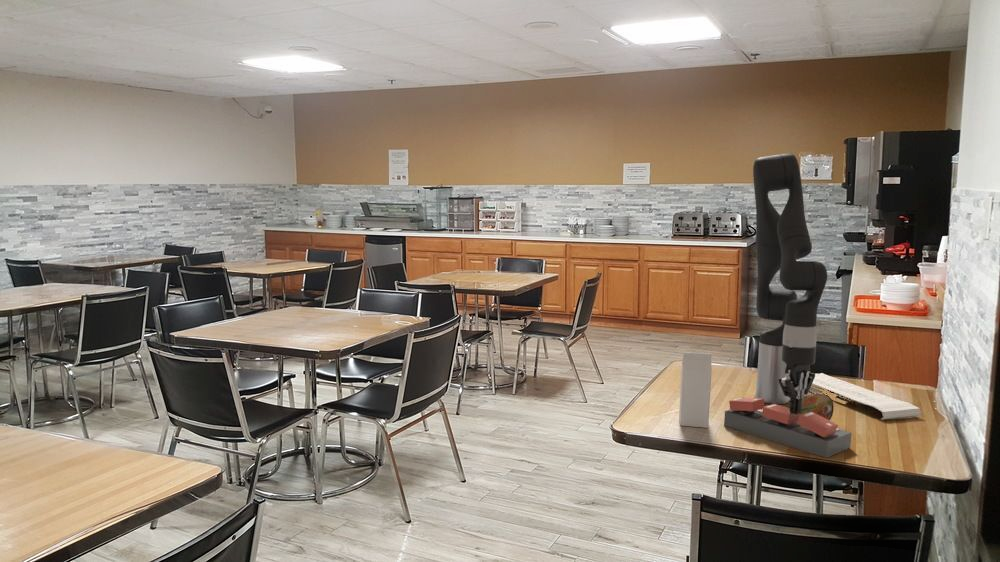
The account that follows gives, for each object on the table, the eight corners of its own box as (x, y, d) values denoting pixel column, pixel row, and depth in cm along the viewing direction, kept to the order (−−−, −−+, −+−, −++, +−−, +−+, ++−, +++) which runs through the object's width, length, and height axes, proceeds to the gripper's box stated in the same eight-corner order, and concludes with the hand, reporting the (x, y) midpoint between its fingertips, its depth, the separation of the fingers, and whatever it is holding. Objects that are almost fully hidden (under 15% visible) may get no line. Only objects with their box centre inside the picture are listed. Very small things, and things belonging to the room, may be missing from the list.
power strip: (748, 418, 198) (749, 401, 197) (850, 448, 176) (851, 429, 175) (724, 425, 191) (725, 408, 190) (826, 458, 169) (828, 438, 168)
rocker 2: (773, 412, 185) (774, 403, 185) (798, 420, 180) (799, 410, 179) (762, 416, 182) (762, 406, 182) (787, 424, 177) (788, 414, 176)
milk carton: (708, 428, 188) (712, 357, 186) (680, 426, 190) (683, 355, 187) (706, 420, 195) (710, 350, 193) (679, 417, 197) (682, 349, 194)
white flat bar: (821, 370, 238) (922, 407, 200) (820, 381, 238) (921, 420, 200) (788, 372, 234) (886, 410, 196) (787, 384, 235) (884, 424, 197)
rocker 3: (808, 420, 178) (811, 410, 177) (835, 433, 173) (837, 424, 172) (797, 423, 175) (800, 414, 174) (824, 437, 170) (827, 428, 169)
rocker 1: (741, 406, 193) (740, 397, 193) (765, 407, 187) (763, 398, 187) (730, 410, 190) (729, 400, 190) (753, 411, 184) (752, 401, 184)
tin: (794, 431, 187) (796, 400, 186) (784, 428, 190) (786, 396, 189) (833, 423, 194) (835, 393, 193) (823, 420, 197) (825, 390, 196)
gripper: (799, 338, 183) (795, 405, 185) (769, 343, 175) (765, 413, 177) (828, 342, 177) (823, 412, 179) (798, 348, 169) (794, 421, 171)
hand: (795, 413), depth 178 cm, fingers closed
